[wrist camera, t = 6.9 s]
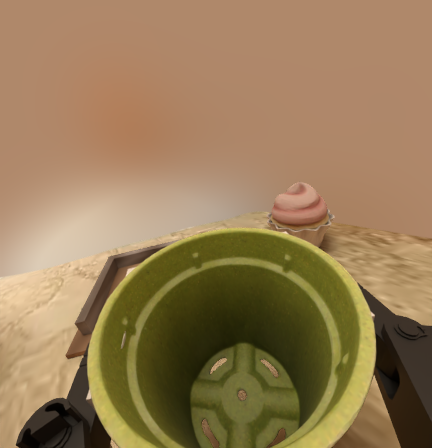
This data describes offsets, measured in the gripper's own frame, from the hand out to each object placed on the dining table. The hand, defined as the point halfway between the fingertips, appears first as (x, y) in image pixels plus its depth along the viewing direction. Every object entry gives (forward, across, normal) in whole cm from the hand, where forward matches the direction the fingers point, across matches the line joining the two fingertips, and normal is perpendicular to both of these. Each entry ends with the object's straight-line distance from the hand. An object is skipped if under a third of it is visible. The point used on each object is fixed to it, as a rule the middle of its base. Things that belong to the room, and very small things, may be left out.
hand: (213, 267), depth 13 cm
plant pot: (-5, 0, -6) cm, 8 cm away
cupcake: (+15, +14, -11) cm, 23 cm away
